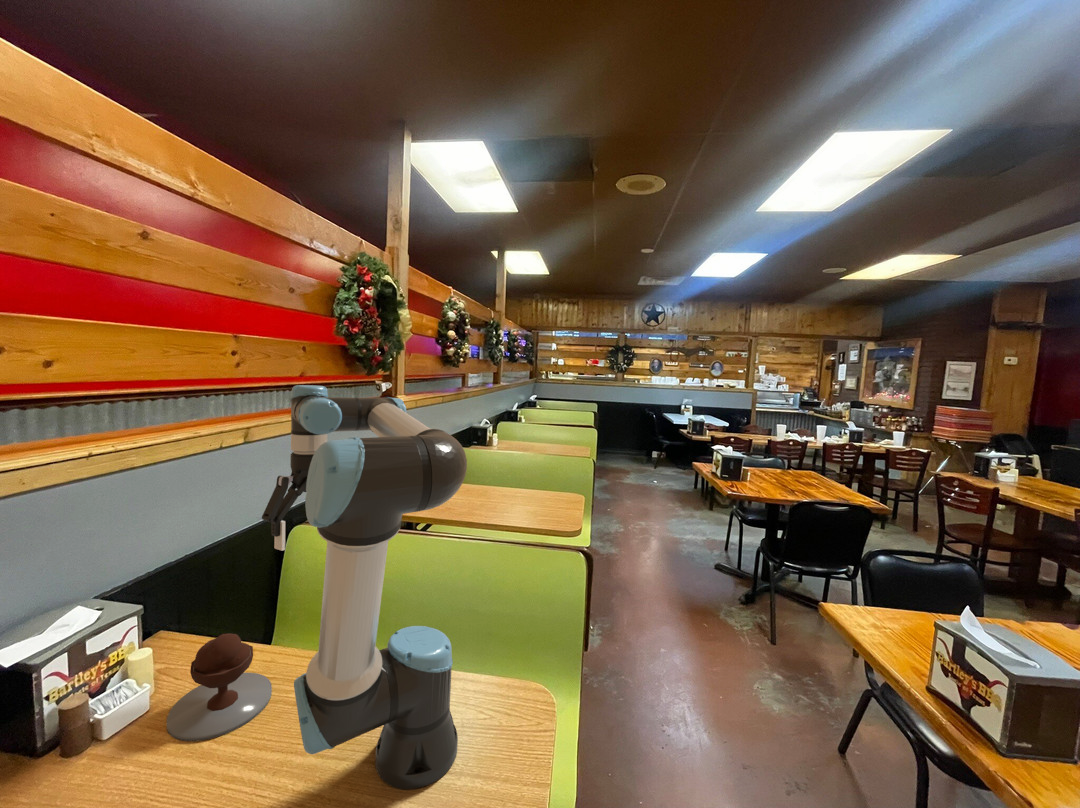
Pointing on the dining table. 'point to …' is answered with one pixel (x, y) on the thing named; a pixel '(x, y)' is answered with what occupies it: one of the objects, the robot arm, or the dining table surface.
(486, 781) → the dining table surface
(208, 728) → the grey smooth oval disc
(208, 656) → the ice cream bowl
